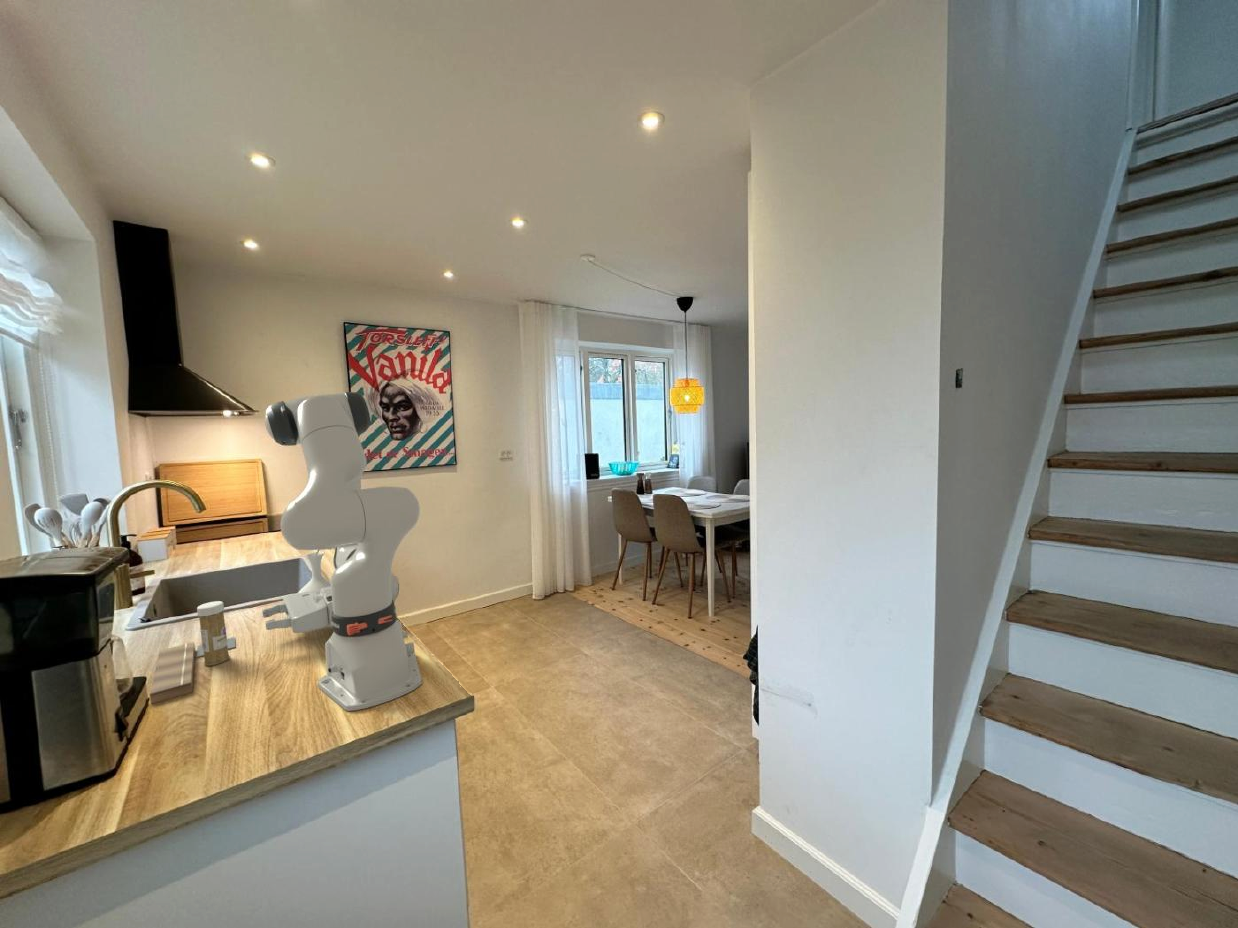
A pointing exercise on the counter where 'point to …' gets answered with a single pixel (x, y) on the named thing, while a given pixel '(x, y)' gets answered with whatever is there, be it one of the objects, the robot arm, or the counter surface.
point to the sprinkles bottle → (213, 632)
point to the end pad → (230, 645)
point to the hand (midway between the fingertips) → (264, 619)
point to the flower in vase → (315, 574)
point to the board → (173, 673)
